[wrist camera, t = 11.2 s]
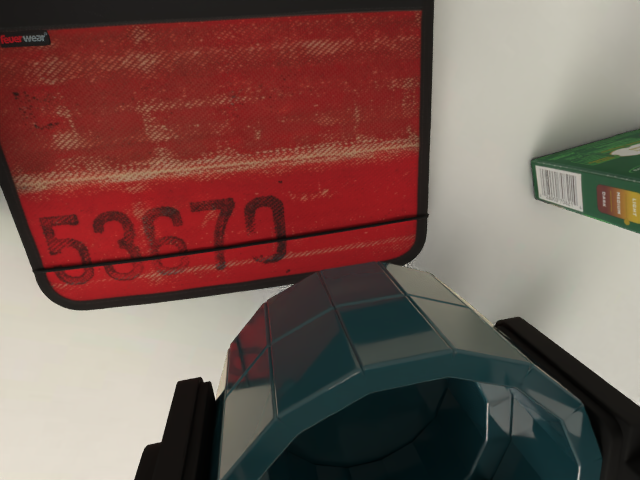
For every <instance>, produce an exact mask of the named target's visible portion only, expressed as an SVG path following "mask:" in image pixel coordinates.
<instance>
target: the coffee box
mask: <svg viewBox="0 0 640 480" xmlns="http://www.w3.org/2000/svg"><path fill="white" fill-rule="evenodd" d="M531 167H532V174H533V182H534V195H535V199H536V200H540V201H543V202H545V203H548V204H552V205H555V206H557V207H560V208H563V209H566V210H570V211H573V212H576V213H579V214H582V215H585V216H588V217H591V218H594V219H597V220H600V221H603V222H606V223H609V224H613V225H616V226H618V227H621V228H624V229H627V230H630V231H633V232H636V233H640V129H638V130H634V131H631V132H626V133H622V134H619V135H616V136H614V137H610V138H607V139H604V140H600V141H596V142H593V143H589V144H586V145H583V146H579V147H575V148H572V149H568V150H564V151H561V152H558V153H554V154H551V155H547V156H544V157H540V158H537V159H534V160H532V161H531Z"/></svg>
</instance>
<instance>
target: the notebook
mask: <svg viewBox="0 0 640 480" xmlns="http://www.w3.org/2000/svg"><path fill="white" fill-rule="evenodd" d="M433 19H434V0H0V186H1V188H2V191H3V193H4V196H5V198H6V201H7V204H8V206H9V209H10V212H11V214H12V217H13V219H14V222H15V225H16V227H17V230H18V232H19V235H20V238H21V240H22V243H23V246H24V248H25V251H26V253H27V256H28V259H29V262H30V265H31V267H32V269H33V270H32V271H33V273H34V274H35V277H36V280H37V283H38V285H39V287H40V289H41V290H42V292H43V293H44V294H45V295H46V296H47V297H48V298H49V299H50V300H51V301H53V302H54V303H56V304H58V305H60V306H62V307H64V308H68V309H72V310H94V309H104V308H112V307H122V306H131V305H142V304H150V303H159V302H167V301H175V300H183V299H191V298H198V297H205V296H212V295H220V294H227V293H234V292H241V291H248V290H256V289H263V288H270V287H277V286H283V285H290V284H296V283H298V282H299V281H301V280H303V279H305V278H306V277H308V276H310V275H312V274H313V273H315V272H319V271H320V270H324V269H331V268H337V267H343V266H349V265H355V264H361V263H367V262H373V261H375V262H378V261H381V262H385V263H390V264H394V265H398V266H403V265H405V264H407V263H409V262H410V261H412V260H413V259H414V258H415V257H416V256H417V255H418V254H419V253H420V252H421V250H422V248H423V246H424V243H425V240H426V234H427V218H428V216H429V214H428V213H427V211H428V183H429V151H430V129H431V95H432V60H433Z"/></svg>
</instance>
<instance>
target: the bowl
mask: <svg viewBox="0 0 640 480" xmlns="http://www.w3.org/2000/svg"><path fill="white" fill-rule="evenodd" d="M602 464H603V457H602V452H601V450H600V447H599V444H598V441H597V439H596V436H595V433H594V431H593V428H592V425H591V422H590V420H589V417H588V414H587V412H586V409H585V406H584V404H583V403H582V402H581V400H580V399H579V398H578V397H577V396H576V395H574V394H573V393H572V392H571V391H570V390H569V389H567V388H566V387H565V386H564V385H563V384H562V383H561V382H559V381H558V380H557V379H556V378H555V377H554V376H552V375H551V374H550V373H549V372H548V371H547V370H546V369H544V368H543V367H542V366H541V365H540V364H539V363H537V362H536V361H535V360H534V359H533V358H532V357H530V356H529V355H528V354H527V353H526V352H525V351H524V350H522V349H521V348H520V347H519V346H518V345H517V344H515V343H514V342H513V341H512V340H511V339H510V338H509V337H507V336H506V335H505V334H504V333H503V332H502V331H500V330H499V329H498V328H497V327H496V326H495V325H494V324H492V323H491V322H490V321H489V320H488V319H487V318H485V317H484V316H483V315H482V314H481V313H480V312H479V311H477V310H476V309H475V308H474V307H473V306H472V305H470V304H469V303H468V302H467V301H466V300H464V299H463V298H462V297H461V296H459V295H458V294H457V293H456V292H454V291H453V290H452V289H450V288H449V287H448V286H447V285H445V284H444V283H443V282H441V281H440V280H439V279H438V278H436V277H435V276H434V275H433V274H430V273H428V272H424V271H420V270H416V269H411V268H407V267H403V266H398V265H394V264H390V263H385V262H381V261H378V262H375V261H373V262H367V263H361V264H355V265H349V266H343V267H337V268H331V269H324V270H320V271H319V272H315V273H313V274H312V275H310V276H308V277H306V278H305V279H303V280H301V281H299V282H298V283H296V284H294V285H292V286H291V287H289V288H287V289H286V290H284V291H282V292H280V293H279V294H277V295H275V296H273V297H272V298H270V299H268V300H267V302H265V303H263V304H262V306H261V307H260V308H259V309H258V311H257V312H256V313H255V314H254V316H253V317H252V318H251V319H250V321H249V322H248V323H247V324H246V326H245V327H244V328H243V329H242V331H241V332H240V333H239V334H238V336H237V337H236V338H235V339H234V341H233V342H232V343H231V345H230V348H229V349H228V352H227V356H226V359H225V363H224V367H223V371H222V375H221V379H220V383H219V386H218V390H217V394H216V403H215V412H214V421H213V430H212V438H211V447H210V457H209V463H208V472H207V480H600V477H601V471H602Z"/></svg>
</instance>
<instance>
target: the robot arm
mask: <svg viewBox="0 0 640 480" xmlns="http://www.w3.org/2000/svg"><path fill="white" fill-rule="evenodd" d="M495 326H496V327H497V328H498V329H499V330H500V331H502V332H503V333H504V334H505V335H506V336H507V337H509V338H510V339H511V340H512V341H513V342H514V343H515V344H517V345H518V346H519V347H520V348H521V349H522V350H524V351H525V352H526V353H527V354H528V355H529V356H530V357H532V358H533V359H534V360H535V361H536V362H537V363H539V364H540V365H541V366H542V367H543V368H544V369H546V370H547V371H548V372H549V373H550V374H551V375H552V376H554V377H555V378H556V379H557V380H558V381H559V382H561V383H562V384H563V385H564V386H565V387H566V388H567V389H569V390H570V391H571V392H572V393H573V394H574V395H576V396H577V397H578V398H579V399H580V400H581V402H582V403H583V404H584V406H585V409H586V412H587V414H588V417H589V420H590V422H591V425H592V428H593V431H594V433H595V436H596V439H597V441H598V444H599V447H600V450H601V452H602V457H603V464H602V471H601V477H600V480H640V407H639V406H638V405H637V404H635V403H634V402H633V401H631V400H630V399H629V398H627V397H626V396H625V395H623V394H622V393H621V392H619V391H618V390H617V389H615V388H614V387H613V386H611V385H610V384H609V383H607V382H606V381H605V380H604V379H602V378H601V377H600V376H598V375H597V374H596V373H594V372H593V371H592V370H590V369H589V368H588V367H586V366H585V365H584V364H582V363H581V362H580V361H578V360H577V359H576V358H574V357H573V356H572V355H570V354H569V353H568V352H566V351H565V350H564V349H562V348H561V347H560V346H558V345H557V344H556V343H554V342H553V341H552V340H550V339H549V338H548V337H546V336H545V335H544V334H542V333H541V332H540V331H538V330H537V329H536V328H534V327H533V326H532V325H530V324H529V323H528V322H526V321H525V320H524V319H522V318H520V317H514V318H508V319H503V320H499V321H497V322H496V324H495ZM215 403H216V401H215V397H214V392H213V388H212V384H211V382H210V381H209V382H203V379H202V378H201V377H198V378H193V379H188V380H183V381H178V382H177V385H176V389H175V392H174V396H173V400H172V404H171V408H170V411H169V415H168V419H167V423H166V427H165V431H164V434H163V438H162V442H160V443H155V444H150V445H147V446H146V447H145V449H144V451H143V453H142V456H141V460H140V463H139V466H138V469H137V473H136V476H135V479H134V480H207V472H208V463H209V457H210V447H211V438H212V430H213V421H214V412H215Z"/></svg>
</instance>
